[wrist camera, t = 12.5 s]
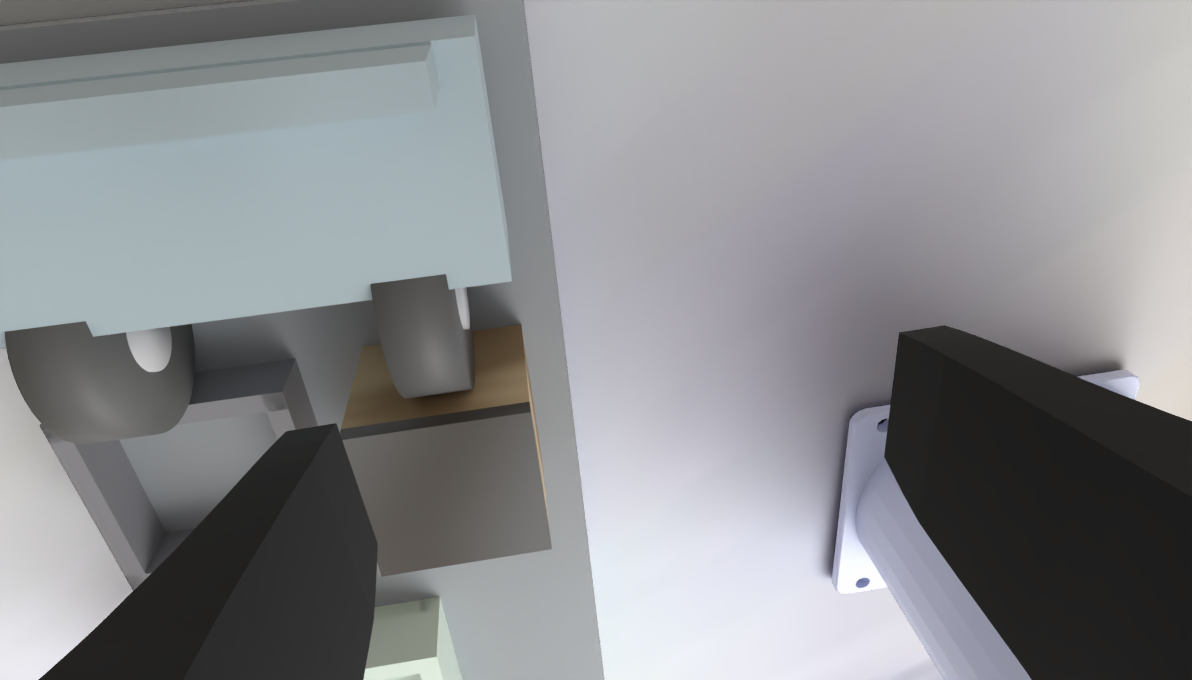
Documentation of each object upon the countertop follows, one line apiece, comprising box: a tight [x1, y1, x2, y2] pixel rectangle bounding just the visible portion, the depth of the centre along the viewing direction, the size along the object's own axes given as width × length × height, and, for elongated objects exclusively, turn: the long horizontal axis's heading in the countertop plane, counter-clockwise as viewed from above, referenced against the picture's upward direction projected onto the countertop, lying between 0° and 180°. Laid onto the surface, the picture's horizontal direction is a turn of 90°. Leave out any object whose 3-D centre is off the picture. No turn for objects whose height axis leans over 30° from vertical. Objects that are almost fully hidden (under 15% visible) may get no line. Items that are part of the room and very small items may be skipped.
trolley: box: [0, 14, 512, 445], centre depth 14 cm, size 10×7×5 cm
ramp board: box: [0, 0, 604, 680], centre depth 21 cm, size 12×24×3 cm, turn 5°
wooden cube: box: [340, 325, 552, 577], centre depth 18 cm, size 4×4×4 cm
